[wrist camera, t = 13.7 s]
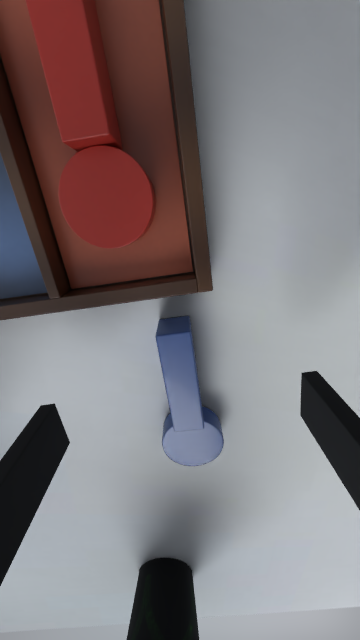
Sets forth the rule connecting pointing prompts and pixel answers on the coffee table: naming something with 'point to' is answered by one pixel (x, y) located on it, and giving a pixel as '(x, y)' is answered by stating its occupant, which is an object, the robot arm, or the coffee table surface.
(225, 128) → the coffee table surface
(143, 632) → the cup
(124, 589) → the coffee table surface
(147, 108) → the divided sorting tray
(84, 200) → the red spoon
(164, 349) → the blue disc-ended stick
